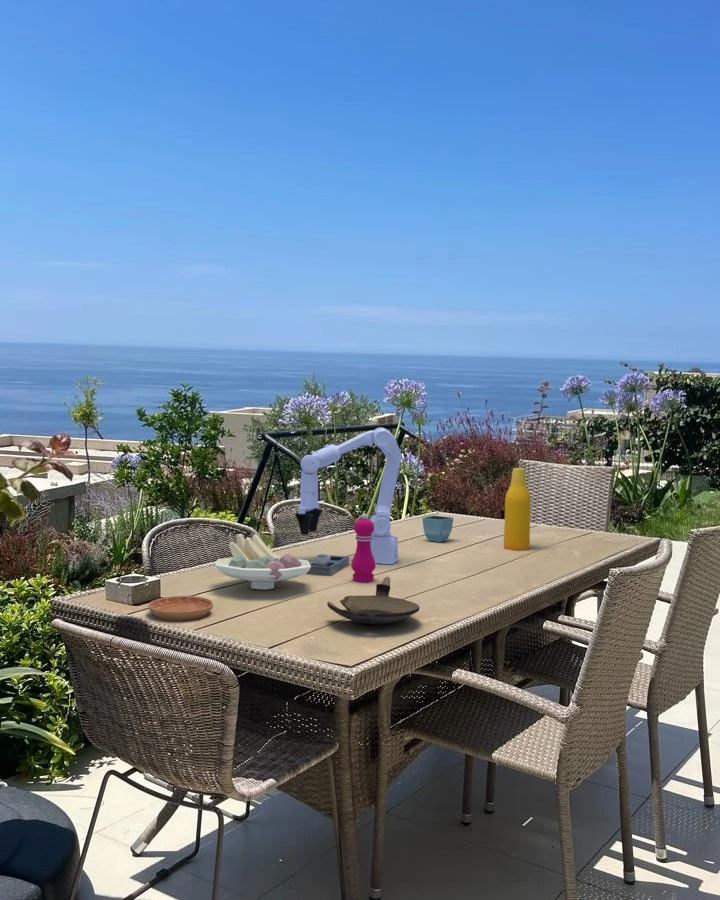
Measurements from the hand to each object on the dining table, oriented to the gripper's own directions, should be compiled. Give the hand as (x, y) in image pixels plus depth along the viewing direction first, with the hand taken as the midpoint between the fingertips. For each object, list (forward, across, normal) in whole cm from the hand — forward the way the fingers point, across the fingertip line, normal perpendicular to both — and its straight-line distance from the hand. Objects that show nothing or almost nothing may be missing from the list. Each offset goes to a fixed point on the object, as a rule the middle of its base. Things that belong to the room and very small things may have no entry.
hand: (308, 532), depth 297 cm
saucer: (+10, +75, -7) cm, 76 cm away
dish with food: (+10, +41, +1) cm, 42 cm away
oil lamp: (+10, +63, +42) cm, 76 cm away
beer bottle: (+10, -50, +62) cm, 80 cm away
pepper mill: (+10, +21, +25) cm, 34 cm away
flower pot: (+10, -54, +32) cm, 64 cm away
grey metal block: (+10, +14, +10) cm, 20 cm away
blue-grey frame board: (+9, +10, +10) cm, 17 cm away
